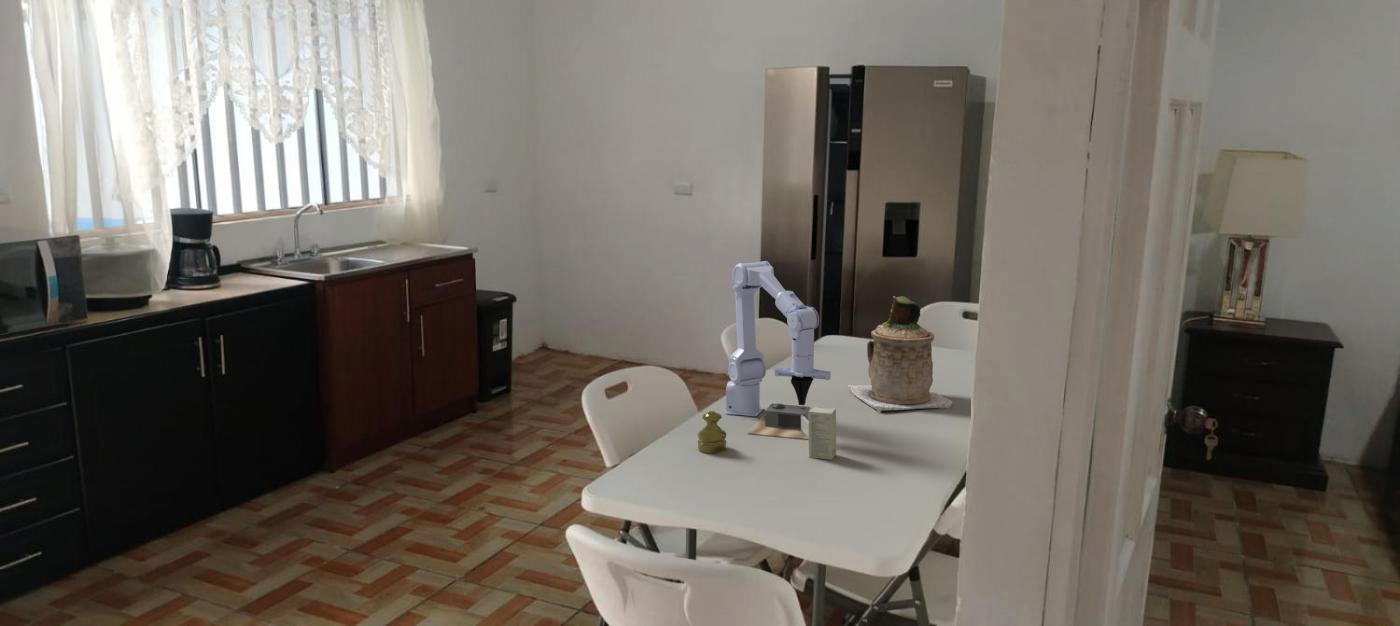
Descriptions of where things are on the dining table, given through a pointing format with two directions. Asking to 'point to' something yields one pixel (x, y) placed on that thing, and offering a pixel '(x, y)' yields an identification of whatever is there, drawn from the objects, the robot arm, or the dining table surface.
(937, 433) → the dining table surface
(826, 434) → the skincare box
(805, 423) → the side door
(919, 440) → the dining table surface
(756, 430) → the wooden board
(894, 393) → the cookie jar
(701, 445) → the salt shaker
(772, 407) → the camera body
